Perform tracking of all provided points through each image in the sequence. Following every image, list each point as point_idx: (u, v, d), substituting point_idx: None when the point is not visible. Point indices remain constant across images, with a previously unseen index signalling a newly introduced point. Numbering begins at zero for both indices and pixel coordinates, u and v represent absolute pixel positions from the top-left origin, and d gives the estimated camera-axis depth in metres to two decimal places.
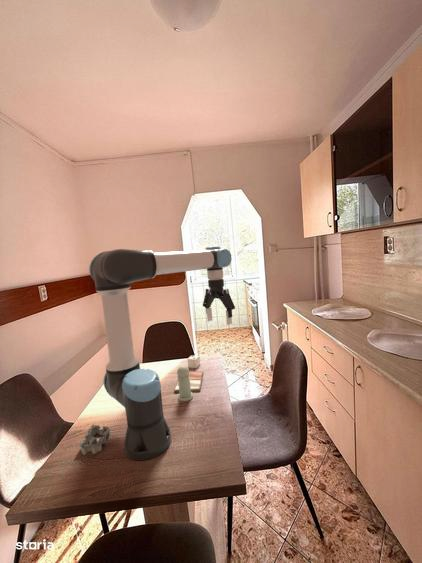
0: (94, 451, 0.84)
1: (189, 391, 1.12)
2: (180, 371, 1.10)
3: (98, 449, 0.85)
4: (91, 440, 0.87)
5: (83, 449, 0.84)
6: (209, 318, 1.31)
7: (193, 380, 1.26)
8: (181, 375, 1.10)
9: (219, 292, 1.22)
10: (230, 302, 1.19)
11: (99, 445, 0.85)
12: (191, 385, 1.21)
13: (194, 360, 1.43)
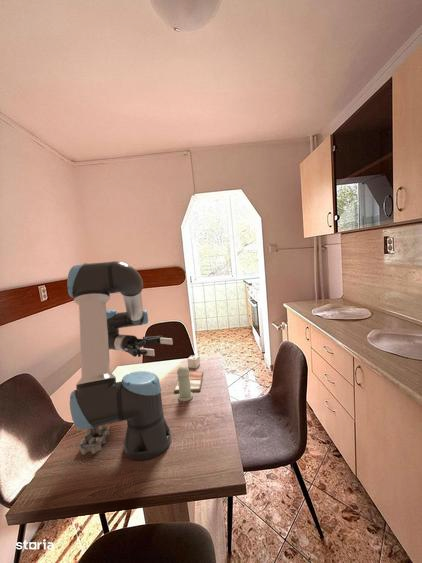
0: (94, 451, 0.84)
1: (189, 391, 1.12)
2: (180, 371, 1.10)
3: (98, 449, 0.85)
4: (90, 440, 0.87)
5: (82, 449, 0.84)
6: None
7: (193, 380, 1.26)
8: (181, 375, 1.10)
9: None
10: None
11: (99, 445, 0.85)
12: (191, 385, 1.21)
13: (194, 360, 1.43)
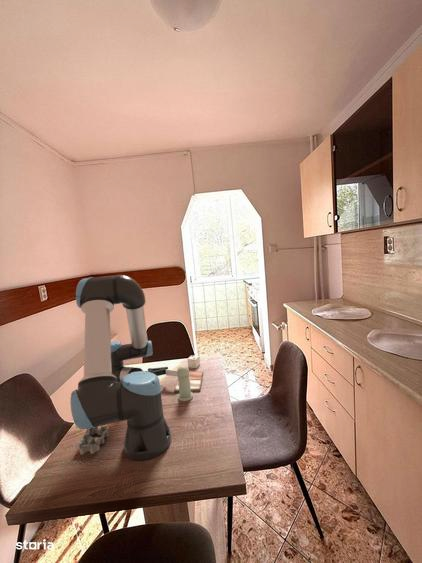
0: (92, 451, 0.84)
1: (189, 391, 1.12)
2: (180, 371, 1.10)
3: (96, 449, 0.85)
4: (89, 440, 0.87)
5: (81, 449, 0.84)
6: None
7: (193, 380, 1.26)
8: (181, 375, 1.10)
9: (146, 371, 1.24)
10: None
11: (97, 445, 0.85)
12: (191, 385, 1.21)
13: (194, 360, 1.43)
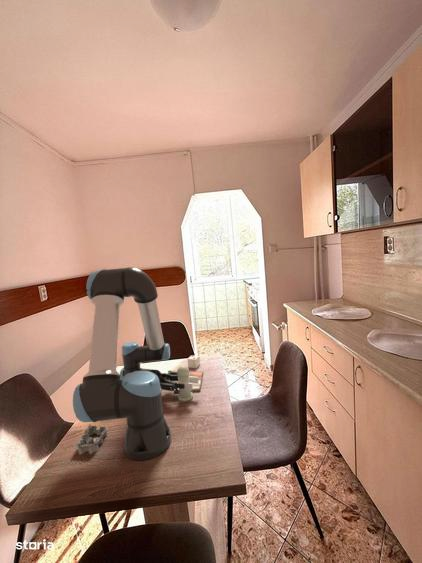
0: (91, 451, 0.84)
1: (189, 391, 1.12)
2: (180, 371, 1.10)
3: (95, 449, 0.85)
4: (88, 440, 0.87)
5: (80, 449, 0.84)
6: None
7: None
8: (181, 375, 1.10)
9: None
10: None
11: (96, 445, 0.85)
12: None
13: (194, 360, 1.43)
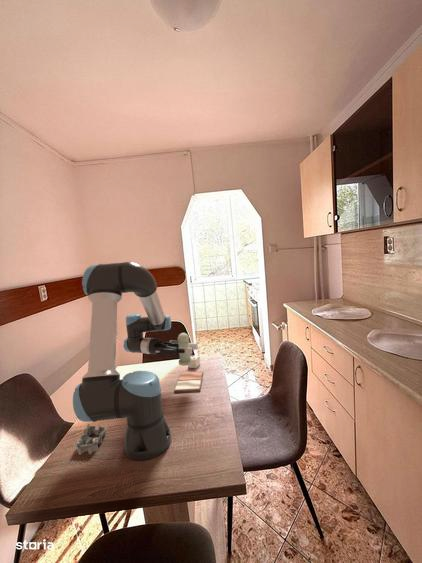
0: (90, 451, 0.84)
1: (189, 356, 1.20)
2: (180, 337, 1.18)
3: (94, 449, 0.85)
4: (87, 440, 0.87)
5: (79, 449, 0.84)
6: None
7: (193, 380, 1.26)
8: (181, 341, 1.18)
9: None
10: None
11: (95, 445, 0.85)
12: (191, 385, 1.21)
13: (194, 360, 1.43)
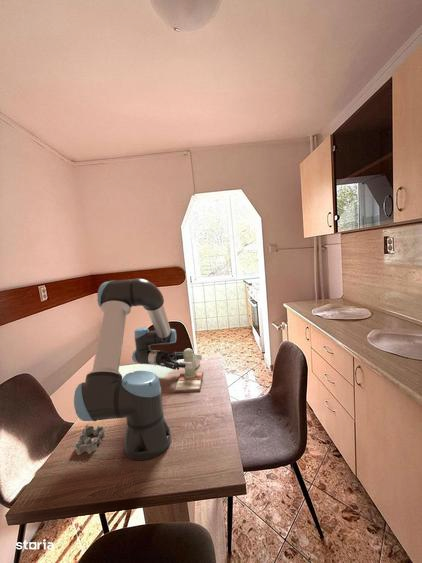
0: (89, 451, 0.84)
1: (193, 370, 1.30)
2: (186, 352, 1.28)
3: (93, 449, 0.85)
4: (86, 440, 0.87)
5: (78, 449, 0.84)
6: None
7: (193, 380, 1.26)
8: (187, 356, 1.28)
9: None
10: None
11: (94, 445, 0.85)
12: (191, 385, 1.21)
13: (194, 360, 1.43)
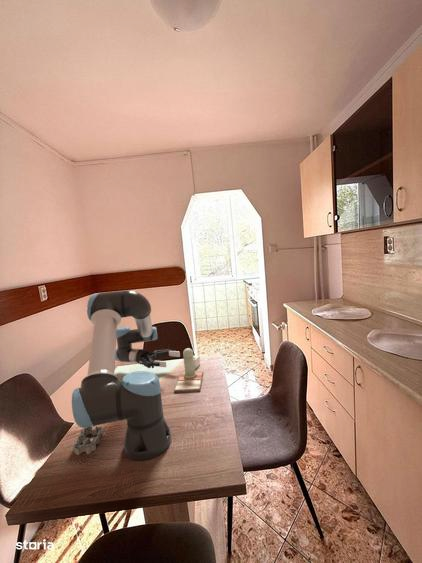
0: (88, 451, 0.84)
1: (193, 370, 1.30)
2: (185, 352, 1.28)
3: (92, 449, 0.85)
4: (85, 440, 0.87)
5: (77, 449, 0.84)
6: None
7: (193, 380, 1.26)
8: (186, 356, 1.28)
9: None
10: None
11: (93, 445, 0.85)
12: (191, 385, 1.21)
13: (194, 360, 1.43)
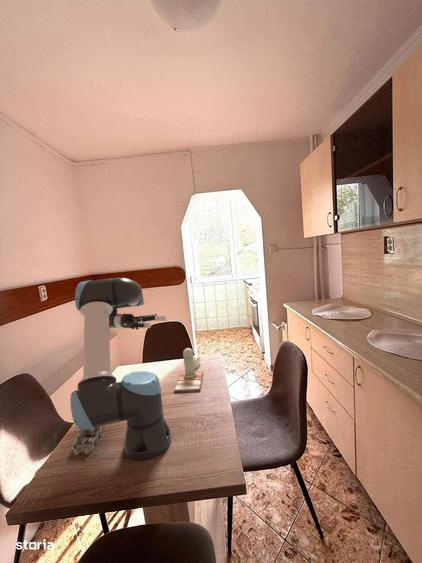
0: (87, 451, 0.84)
1: (193, 370, 1.30)
2: (186, 352, 1.28)
3: (91, 449, 0.85)
4: (83, 440, 0.87)
5: (75, 450, 0.84)
6: None
7: (193, 380, 1.26)
8: (186, 355, 1.28)
9: None
10: None
11: (92, 445, 0.85)
12: (191, 385, 1.21)
13: (194, 360, 1.43)
